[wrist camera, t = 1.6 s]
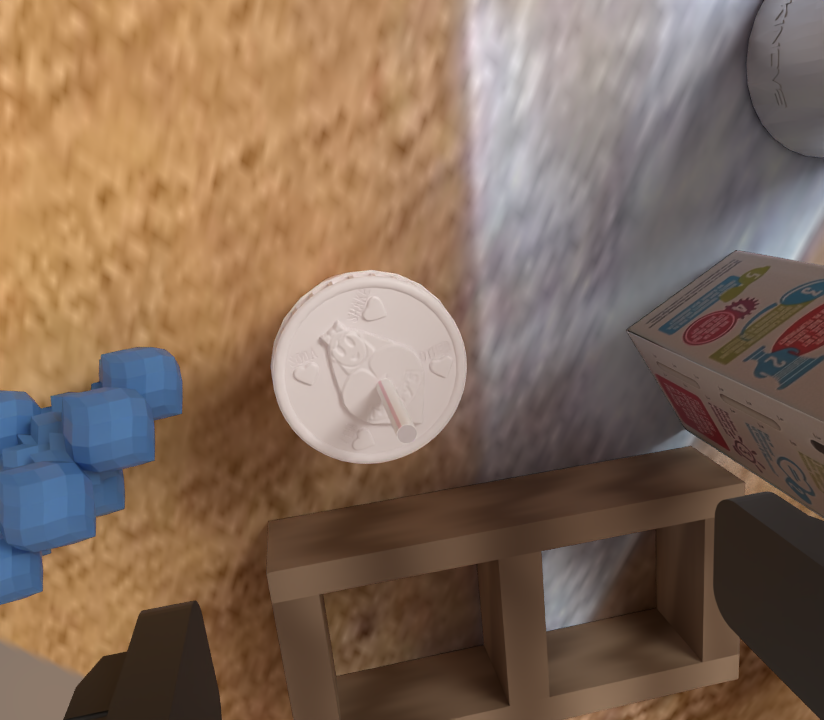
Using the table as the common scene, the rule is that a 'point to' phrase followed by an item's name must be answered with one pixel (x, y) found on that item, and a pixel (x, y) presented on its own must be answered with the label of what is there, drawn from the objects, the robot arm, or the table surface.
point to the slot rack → (513, 593)
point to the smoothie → (368, 367)
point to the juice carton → (748, 366)
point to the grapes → (76, 458)
